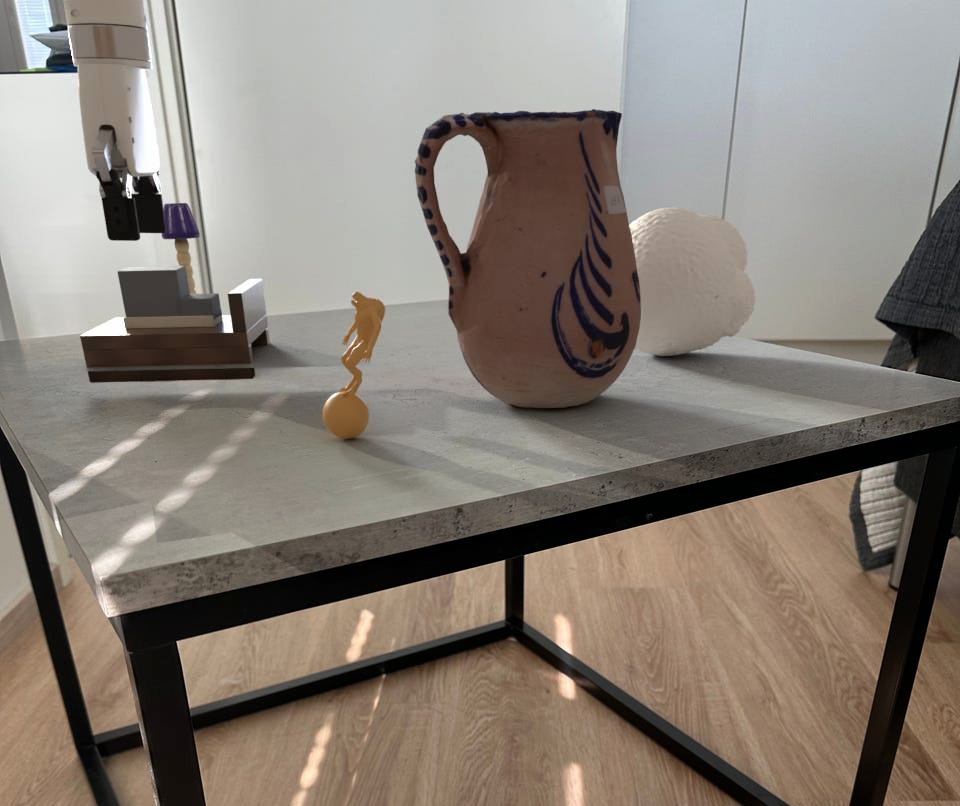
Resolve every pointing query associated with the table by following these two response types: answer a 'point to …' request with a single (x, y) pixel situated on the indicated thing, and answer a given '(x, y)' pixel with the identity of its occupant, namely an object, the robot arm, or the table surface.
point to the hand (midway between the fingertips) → (138, 236)
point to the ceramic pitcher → (540, 255)
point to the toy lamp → (181, 235)
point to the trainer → (165, 299)
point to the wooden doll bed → (182, 344)
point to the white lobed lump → (689, 281)
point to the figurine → (355, 370)
